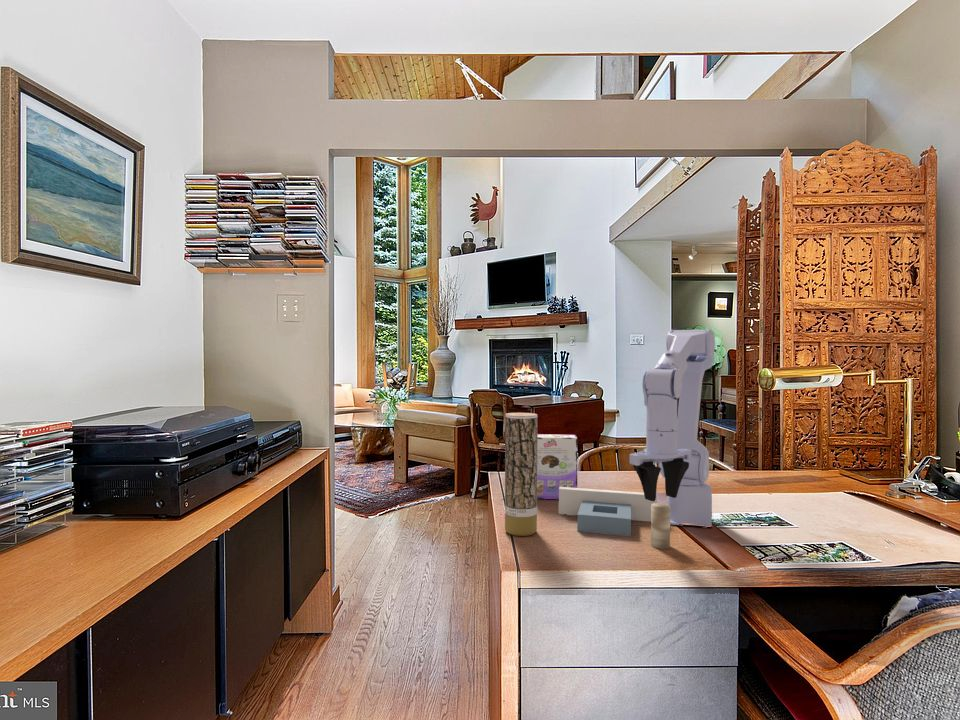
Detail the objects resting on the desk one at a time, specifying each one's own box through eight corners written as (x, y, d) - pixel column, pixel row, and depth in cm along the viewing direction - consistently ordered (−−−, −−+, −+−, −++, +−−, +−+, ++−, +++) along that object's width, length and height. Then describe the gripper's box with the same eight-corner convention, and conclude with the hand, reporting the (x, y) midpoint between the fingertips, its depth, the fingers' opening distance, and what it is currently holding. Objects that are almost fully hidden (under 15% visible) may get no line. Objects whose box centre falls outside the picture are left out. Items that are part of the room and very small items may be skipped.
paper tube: (535, 538, 111) (535, 416, 111) (502, 536, 112) (503, 415, 112) (538, 528, 118) (539, 413, 117) (507, 525, 119) (508, 412, 119)
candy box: (575, 495, 145) (576, 434, 145) (577, 501, 139) (578, 437, 139) (524, 493, 147) (524, 432, 146) (523, 499, 141) (524, 436, 141)
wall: (656, 519, 124) (656, 493, 124) (656, 522, 122) (656, 495, 122) (559, 511, 130) (559, 486, 130) (558, 514, 128) (558, 488, 128)
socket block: (630, 522, 123) (630, 504, 123) (630, 538, 113) (630, 519, 113) (581, 517, 126) (582, 500, 126) (577, 532, 116) (577, 514, 116)
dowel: (669, 543, 109) (669, 503, 108) (670, 549, 105) (671, 508, 105) (650, 541, 110) (650, 502, 109) (651, 547, 106) (651, 507, 106)
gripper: (673, 425, 114) (672, 489, 114) (619, 429, 107) (618, 497, 108) (700, 429, 107) (699, 497, 108) (644, 434, 101) (643, 506, 101)
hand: (660, 498), depth 107 cm, fingers open, 5 cm apart
